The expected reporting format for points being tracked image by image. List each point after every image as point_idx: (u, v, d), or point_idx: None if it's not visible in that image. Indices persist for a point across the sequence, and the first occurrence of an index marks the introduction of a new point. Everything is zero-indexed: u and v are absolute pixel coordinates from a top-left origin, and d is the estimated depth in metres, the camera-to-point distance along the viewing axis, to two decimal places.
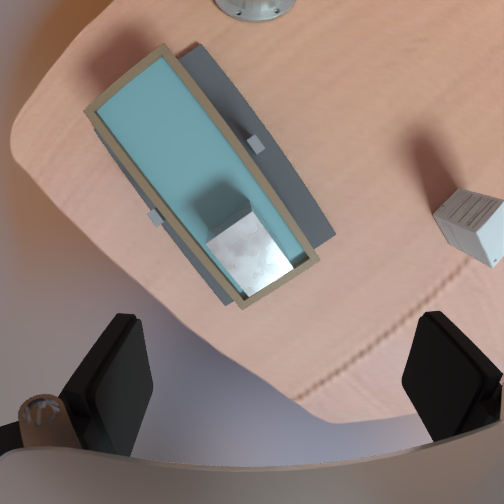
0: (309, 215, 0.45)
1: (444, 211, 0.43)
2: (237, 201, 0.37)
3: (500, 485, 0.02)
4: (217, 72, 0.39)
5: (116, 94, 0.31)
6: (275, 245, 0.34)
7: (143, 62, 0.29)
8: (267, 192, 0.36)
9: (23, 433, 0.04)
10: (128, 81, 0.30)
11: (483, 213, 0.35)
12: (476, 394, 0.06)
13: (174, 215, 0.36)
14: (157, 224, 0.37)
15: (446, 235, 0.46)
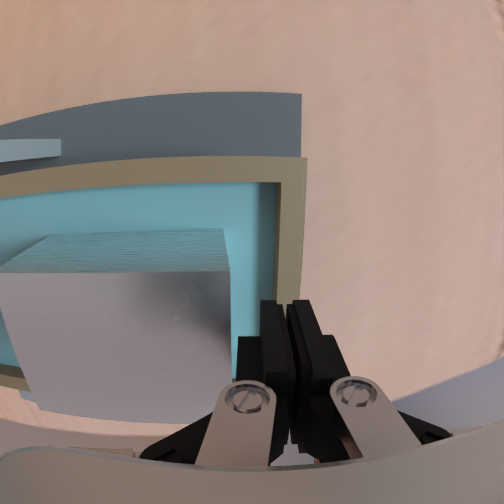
0: (225, 120, 0.18)
1: None
2: None
3: (500, 485, 0.02)
4: None
5: None
6: (106, 277, 0.08)
7: None
8: (41, 187, 0.11)
9: (216, 412, 0.06)
10: None
11: None
12: (306, 387, 0.07)
13: None
14: None
15: None
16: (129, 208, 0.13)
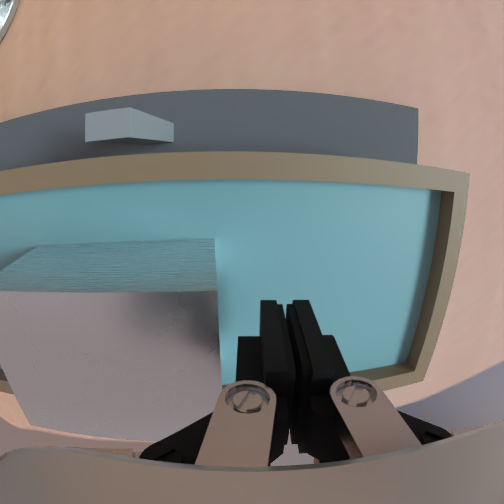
0: (357, 124, 0.18)
1: None
2: None
3: (501, 484, 0.02)
4: (17, 126, 0.17)
5: None
6: (88, 297, 0.08)
7: None
8: (238, 173, 0.11)
9: (216, 411, 0.06)
10: None
11: None
12: (306, 387, 0.07)
13: None
14: None
15: None
16: (327, 204, 0.13)
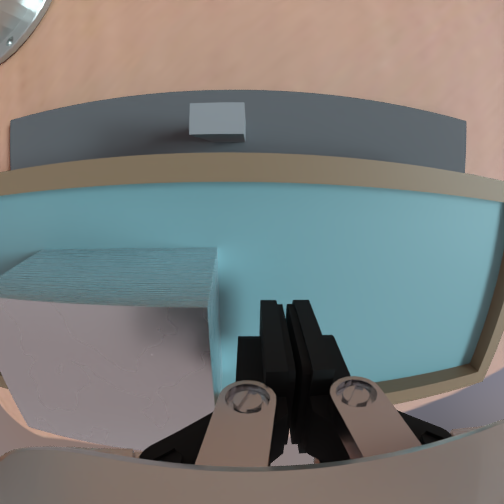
0: (417, 134, 0.18)
1: None
2: (321, 262, 0.13)
3: (500, 485, 0.02)
4: (61, 117, 0.17)
5: None
6: (78, 308, 0.07)
7: None
8: (358, 180, 0.11)
9: (216, 412, 0.06)
10: None
11: None
12: (306, 387, 0.07)
13: None
14: None
15: None
16: (425, 214, 0.12)
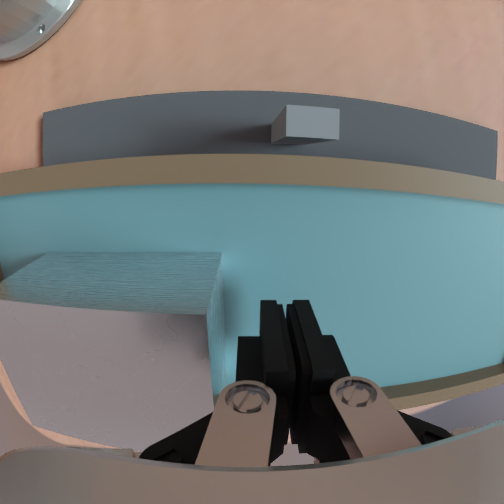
0: (456, 143, 0.18)
1: None
2: (400, 265, 0.13)
3: (501, 484, 0.02)
4: (103, 110, 0.18)
5: None
6: (80, 313, 0.08)
7: None
8: (439, 190, 0.11)
9: (216, 412, 0.06)
10: None
11: None
12: (306, 387, 0.07)
13: None
14: None
15: None
16: (485, 221, 0.12)
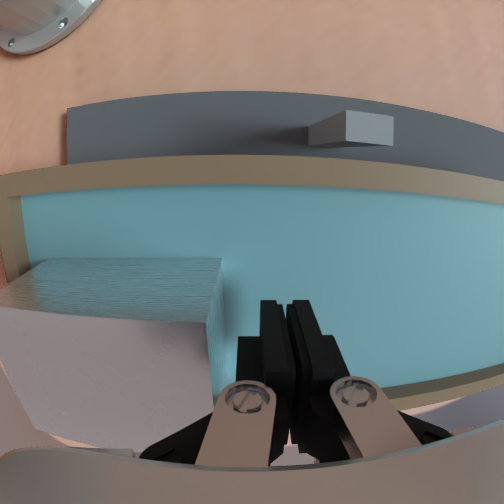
0: (478, 147, 0.18)
1: None
2: (442, 265, 0.13)
3: (500, 485, 0.02)
4: (135, 107, 0.18)
5: None
6: (81, 320, 0.08)
7: (5, 244, 0.11)
8: (480, 195, 0.11)
9: (216, 412, 0.06)
10: None
11: None
12: (306, 386, 0.07)
13: None
14: None
15: None
16: None
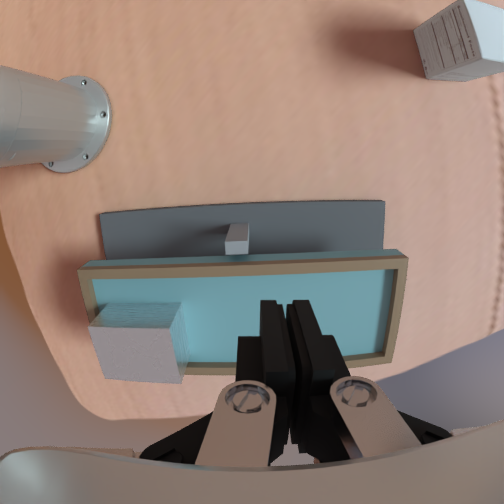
0: (348, 217, 0.35)
1: (431, 65, 0.28)
2: (284, 302, 0.30)
3: (500, 485, 0.02)
4: (138, 216, 0.35)
5: None
6: (131, 329, 0.25)
7: (86, 298, 0.29)
8: (295, 271, 0.28)
9: (216, 412, 0.06)
10: None
11: (464, 31, 0.20)
12: (306, 386, 0.07)
13: None
14: None
15: (456, 79, 0.30)
16: (333, 279, 0.29)
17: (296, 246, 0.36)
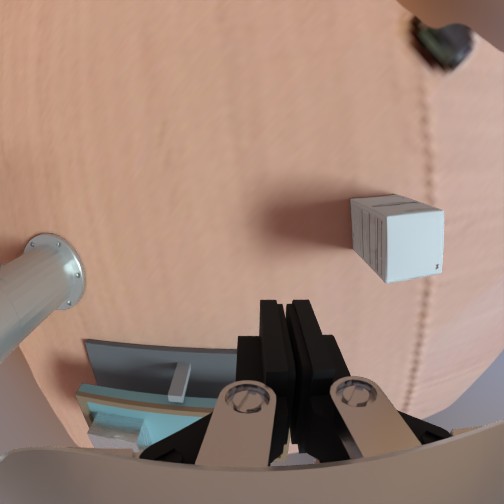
0: None
1: (356, 244, 0.40)
2: None
3: (500, 485, 0.02)
4: (113, 349, 0.46)
5: None
6: (113, 439, 0.36)
7: (83, 409, 0.39)
8: None
9: (216, 412, 0.06)
10: (91, 419, 0.41)
11: (379, 248, 0.31)
12: (306, 387, 0.07)
13: None
14: None
15: None
16: None
17: (225, 378, 0.47)
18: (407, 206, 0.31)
